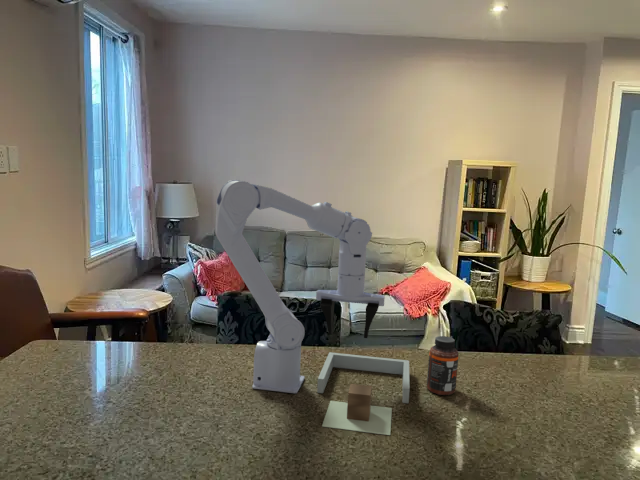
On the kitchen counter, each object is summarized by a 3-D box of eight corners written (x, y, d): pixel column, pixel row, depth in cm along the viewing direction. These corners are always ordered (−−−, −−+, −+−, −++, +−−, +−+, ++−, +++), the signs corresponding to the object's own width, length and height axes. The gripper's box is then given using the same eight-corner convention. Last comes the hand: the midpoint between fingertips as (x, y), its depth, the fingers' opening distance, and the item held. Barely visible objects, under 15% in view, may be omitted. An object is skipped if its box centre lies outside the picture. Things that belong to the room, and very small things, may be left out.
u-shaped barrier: (317, 392, 99) (317, 378, 99) (328, 364, 114) (329, 352, 114) (408, 403, 96) (409, 389, 96) (408, 373, 111) (409, 360, 111)
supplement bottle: (456, 398, 100) (461, 345, 98) (426, 394, 101) (430, 342, 99) (454, 386, 105) (458, 335, 104) (426, 382, 107) (430, 332, 105)
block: (346, 418, 89) (348, 392, 88) (349, 408, 93) (350, 383, 92) (368, 421, 88) (370, 395, 88) (370, 411, 92) (371, 386, 92)
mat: (321, 426, 86) (321, 426, 86) (330, 401, 96) (330, 400, 96) (390, 435, 84) (390, 434, 84) (391, 408, 94) (391, 408, 94)
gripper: (386, 272, 106) (383, 332, 108) (321, 267, 109) (319, 325, 111) (384, 279, 99) (380, 342, 101) (315, 273, 102) (312, 335, 104)
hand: (348, 334), depth 106 cm, fingers open, 7 cm apart
